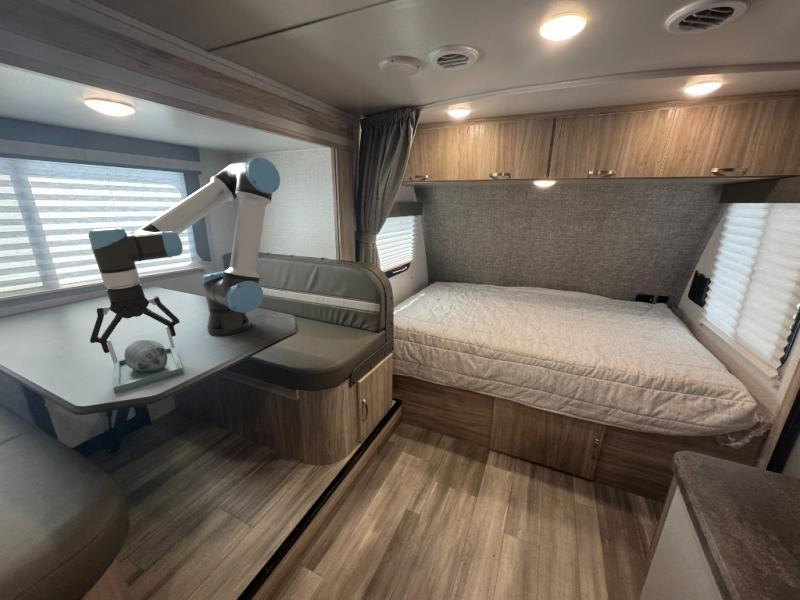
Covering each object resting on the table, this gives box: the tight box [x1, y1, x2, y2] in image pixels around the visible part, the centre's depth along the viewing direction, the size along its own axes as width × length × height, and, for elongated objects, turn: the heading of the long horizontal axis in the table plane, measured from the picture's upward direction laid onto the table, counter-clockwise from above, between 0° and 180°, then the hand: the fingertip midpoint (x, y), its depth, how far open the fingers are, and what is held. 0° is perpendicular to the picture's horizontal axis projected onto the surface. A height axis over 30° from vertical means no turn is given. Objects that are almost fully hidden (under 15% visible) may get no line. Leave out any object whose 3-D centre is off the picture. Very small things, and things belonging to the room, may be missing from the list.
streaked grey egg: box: [123, 339, 167, 372], centre depth 93 cm, size 14×10×10 cm
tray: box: [112, 346, 185, 395], centre depth 94 cm, size 15×19×2 cm
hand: (145, 353), depth 93 cm, fingers open, 13 cm apart
